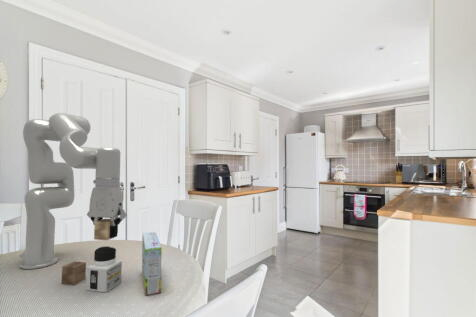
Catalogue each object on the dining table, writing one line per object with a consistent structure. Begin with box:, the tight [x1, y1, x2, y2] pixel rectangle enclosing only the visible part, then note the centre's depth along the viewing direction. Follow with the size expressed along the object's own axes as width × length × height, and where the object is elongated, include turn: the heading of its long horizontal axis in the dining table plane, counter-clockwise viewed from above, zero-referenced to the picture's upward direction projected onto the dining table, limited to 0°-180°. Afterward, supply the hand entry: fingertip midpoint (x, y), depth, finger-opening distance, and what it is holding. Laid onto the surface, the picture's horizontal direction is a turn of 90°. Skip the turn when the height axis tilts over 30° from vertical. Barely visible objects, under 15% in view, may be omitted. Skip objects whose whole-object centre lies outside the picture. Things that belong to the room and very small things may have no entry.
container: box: [85, 245, 123, 293], centre depth 87 cm, size 8×8×13 cm
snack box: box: [141, 231, 163, 297], centre depth 91 cm, size 21×6×15 cm, turn 23°
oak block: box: [93, 218, 118, 241], centre depth 87 cm, size 5×5×6 cm
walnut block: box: [61, 260, 87, 286], centre depth 90 cm, size 5×5×6 cm
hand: (106, 236), depth 87 cm, fingers closed on oak block, 5 cm apart
